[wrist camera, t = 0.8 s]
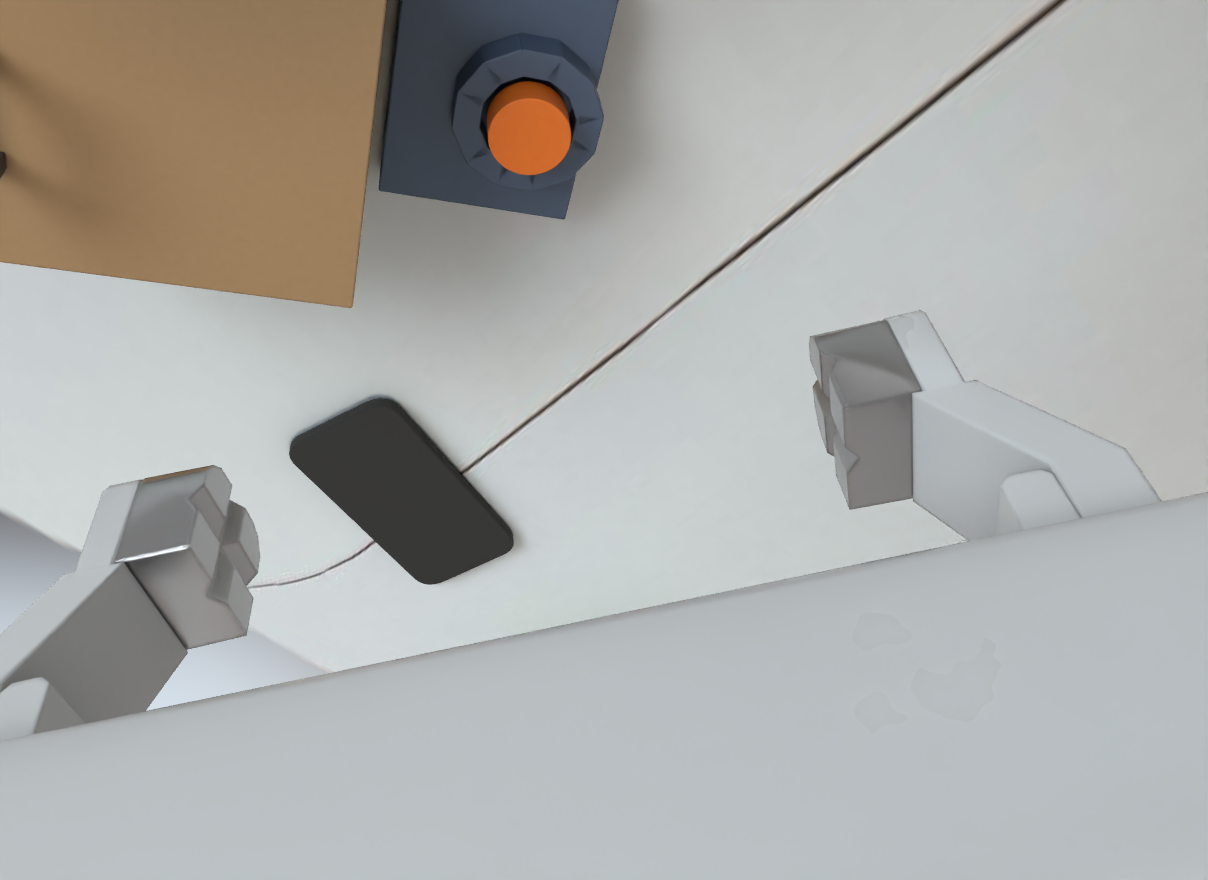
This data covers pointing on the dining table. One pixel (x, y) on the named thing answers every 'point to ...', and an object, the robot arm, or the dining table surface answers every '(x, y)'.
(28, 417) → the dining table surface
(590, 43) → the panel
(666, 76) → the dining table surface
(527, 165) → the release button
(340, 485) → the phone
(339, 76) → the lid
